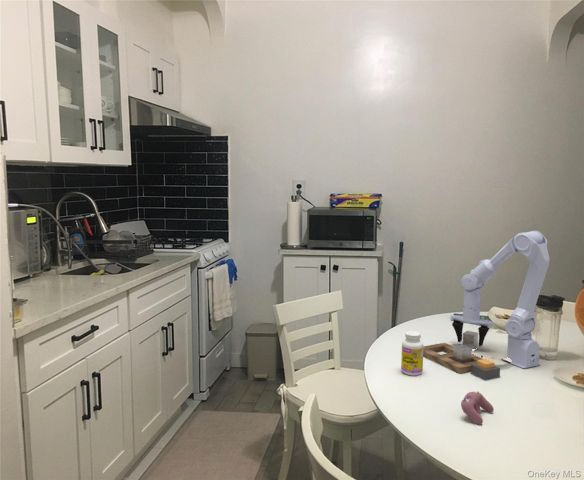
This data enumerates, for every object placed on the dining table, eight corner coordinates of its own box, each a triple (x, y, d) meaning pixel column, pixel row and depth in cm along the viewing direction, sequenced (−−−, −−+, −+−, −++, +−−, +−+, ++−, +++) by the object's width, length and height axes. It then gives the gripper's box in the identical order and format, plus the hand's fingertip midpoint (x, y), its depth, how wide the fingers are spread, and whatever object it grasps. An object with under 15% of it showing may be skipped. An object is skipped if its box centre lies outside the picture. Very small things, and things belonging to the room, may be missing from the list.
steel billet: (477, 348, 184) (478, 332, 183) (473, 351, 181) (474, 335, 180) (466, 346, 187) (467, 330, 186) (462, 349, 184) (463, 333, 183)
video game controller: (480, 414, 137) (469, 388, 138) (495, 410, 134) (484, 385, 135) (466, 428, 129) (455, 401, 130) (483, 425, 126) (471, 397, 128)
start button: (494, 371, 158) (494, 362, 158) (485, 373, 157) (485, 364, 156) (485, 367, 161) (485, 358, 161) (476, 369, 160) (477, 360, 160)
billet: (471, 366, 167) (471, 348, 167) (461, 367, 166) (462, 350, 165) (462, 362, 171) (462, 344, 170) (453, 363, 169) (453, 346, 169)
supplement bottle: (398, 374, 161) (399, 334, 159) (404, 367, 167) (405, 329, 165) (419, 377, 158) (420, 337, 156) (424, 370, 164) (425, 331, 162)
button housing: (499, 377, 158) (500, 367, 157) (485, 380, 155) (485, 370, 155) (485, 370, 163) (485, 361, 163) (470, 373, 161) (471, 364, 160)
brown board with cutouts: (490, 367, 166) (490, 361, 165) (459, 374, 160) (460, 368, 160) (444, 347, 185) (444, 342, 185) (416, 353, 180) (416, 347, 180)
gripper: (496, 307, 180) (494, 344, 182) (456, 301, 190) (455, 336, 191) (489, 311, 175) (487, 349, 177) (448, 305, 184) (447, 341, 186)
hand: (470, 343), depth 184 cm, fingers open, 7 cm apart
